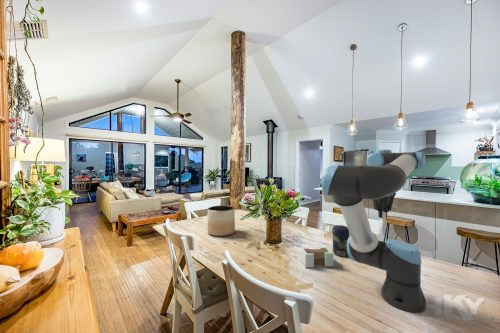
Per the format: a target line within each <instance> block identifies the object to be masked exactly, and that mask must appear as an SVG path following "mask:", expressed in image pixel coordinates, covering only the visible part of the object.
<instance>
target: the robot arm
mask: <svg viewBox="0 0 500 333" xmlns="http://www.w3.org/2000/svg"><path fill="white" fill-rule="evenodd" d="M365 161H366V164H367V165H340V164H338V165H337V164H336V165H330V166H327V167H326V169H325V170H324V173H323V174H322V179H321V190H322V191H321V192H322V193H323V194H324V195H326V196H331V198H332V200H333V202H334V204H335V205H337V206H339V208H340V211H341V213H342V217H343V219H344V221H345V224H346V227H348V230H349V238H348V241H347V253H348V257H349V258H350V259H351V260H352V261H354V262H356V263H358V264H363V265H366V266H369V267H373V268H376V269H379V270H382V271H385V279H384V281H383V284H382V287H381V290H380V295H381V298H382V299H383V300H384V301H385V302H386V303H387V304H389V305H390V306H392V307H395V308H396V309H399V310H402V311H405V312H410V313H422V312H425V310H426V309H427V301H426V298H425V297H426V296H425V295H424V292H423V290H422V285H421V284H422V283H421V279H422V278H421V273H422V267H421V266H422V255H421V252H420V250H419V248H418V247H417V246H415V245H413V244H411V243H408V242H406V241H404V240H400V239H393V238H392V239H391V238H390V239H387V240H386V241H382V240H379V239H378V237H377V235H376V234H375V233H374V232H372V229H371V225H370V221H369V219H368V215H367V212H366V208H365V206H364V203H363V202H364V200H369V201H370V200H372V203H373V207H374V208H373V210H374V211H377V212H378V213H377V214H378V215H377V216H378V217H377V218H379V224H380V225H383V226H384V225H386V222H387V220H386V219H387V218H388V213H389V212H390V211H391V210H392V208H393V205H394V204H393V203H394V199H395V197H396V195H397V193H398V192H399V191H400V190H401V189H402V188H403V187H404V186H405V185H406V183H407V178H408V176H409V175H410V174H411V173H412V172H413V171H414V170H423V169H425V167H426V153H424V152H421V151H410V152H407V151H406V152H392V150H391V149H377V150H375V151H374V152H372V153H370V154H369V155H367V157H366V160H365Z"/></svg>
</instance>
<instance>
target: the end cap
mask: <svg viewBox="0 0 500 333" xmlns="http://www.w3.org/2000/svg"><path fill="white" fill-rule="evenodd" d="M319 249H327V251H328V252H329V253H325V266H333V259H334V253H333V251H331V249H330V248H329V247H328V246H320V247H319Z"/></svg>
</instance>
